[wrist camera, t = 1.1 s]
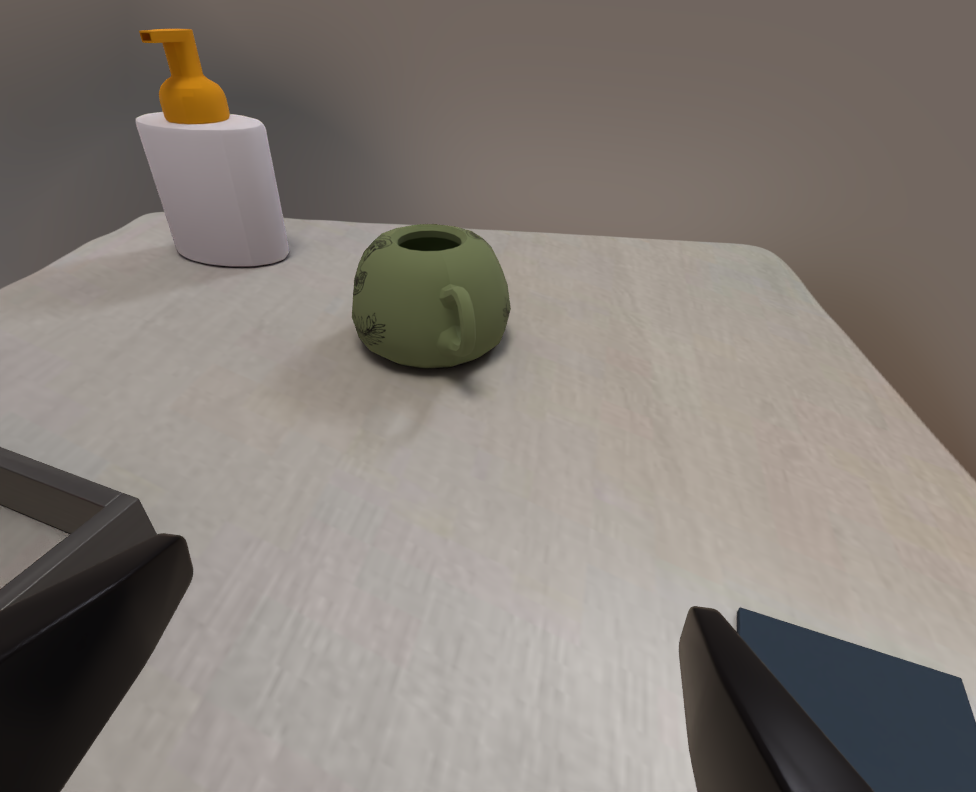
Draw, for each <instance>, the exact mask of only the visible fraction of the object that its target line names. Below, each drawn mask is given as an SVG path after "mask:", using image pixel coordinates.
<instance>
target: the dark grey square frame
mask: <svg viewBox="0 0 976 792" xmlns="http://www.w3.org/2000/svg"><path fill="white" fill-rule="evenodd" d="M0 504H1V505H3V506H6V507H8V508H10V509H13V510H15V511H18V512H20V513H22V514H25V515H27V516H30V517H32V518H34V519H37V520H39V521H42V522H44V523H46V524H49V525H51V526H53V527H56V528H58V529H61V530H63V531H65V532H68V533H70V535H69V536H68V537H66V538H65V539H64V540H63V541H61V542H60V543H59V544H57V545H56V546H55V547H54V548H52V549H51V550H50V551H49V552H47V553H46V554H45V555H43V556H42V557H41V558H40V559H38V560H37V561H36V562H34V563H33V564H32V565H31V566H29V567H28V568H27V569H26V570H24V571H23V572H22V573H20V574H19V575H18V576H17V577H15V578H14V579H13V580H12V581H10V582H9V583H8V584H6V585H5V586H4V587H3V588H1V589H0V610H2V609H4V608H6V607H8V606H10V605H12V604H14V603H16V602H18V601H21V600H23V599H25V598H27V597H29V596H31V595H33V594H35V593H37V592H39V591H41V590H43V589H45V588H47V587H50V586H52V585H54V584H56V583H58V582H60V581H62V580H64V579H66V578H68V577H70V576H72V575H74V574H76V573H79V572H81V571H83V570H85V569H87V568H89V567H91V566H93V565H95V564H97V563H99V562H101V561H103V560H105V559H107V558H110V557H112V556H114V555H116V554H118V553H120V552H122V551H124V550H126V549H128V548H130V547H132V546H134V545H136V544H138V543H141V542H143V541H145V540H147V539H149V538H151V537H153V536H155V535H157V533H156V532H155V530H154V528H153V526H152V524H151V522H150V520H149V518H148V516H147V514H146V512H145V510H144V508H143V506H142V504H141V502H140V500H139V499H138V498H135V497H133V496H130V495H127V494H125V493H121V492H119V491H116V490H113V489H111V488H108V487H105V486H103V485H100V484H97V483H95V482H92V481H89V480H87V479H84V478H81V477H79V476H76V475H73V474H71V473H68V472H65V471H63V470H60V469H57V468H55V467H52V466H49V465H47V464H44V463H41V462H39V461H36V460H33V459H31V458H28V457H25V456H23V455H20V454H17V453H15V452H12V451H9V450H7V449H4V448H1V447H0Z"/></svg>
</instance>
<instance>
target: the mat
mask: <svg viewBox="0 0 976 792" xmlns="http://www.w3.org/2000/svg"><path fill="white" fill-rule="evenodd" d="M737 633H738V634H739V635H740V636H741V638H742V639H743V640H744V641H745V642H746V643H747V645H748V646H749V647H750V648H751V649H752V650H753V652H754V653H755V654H756V655H757V656H758V657H759V658H760V660H761V661H762V662H763V663H764V664H765V665H766V667H767V668H768V669H769V670H770V671H771V672H772V674H773V675H774V676H775V677H776V678H777V679H778V681H779V682H780V683H781V684H782V685H783V686H784V687H785V689H786V690H787V691H788V692H789V693H790V694H791V696H792V697H793V698H794V699H795V700H796V701H797V703H798V704H799V705H800V706H801V707H802V708H803V709H804V711H805V712H806V713H807V714H808V715H809V716H810V718H811V719H812V720H813V721H814V722H815V723H816V725H817V726H818V727H819V728H820V729H821V730H822V732H823V733H824V734H825V735H826V736H827V737H828V738H829V740H830V741H831V742H832V743H833V744H834V745H835V747H836V748H837V749H838V750H839V751H840V752H841V754H842V755H843V756H844V757H845V758H846V759H847V760H848V762H849V763H850V764H851V765H852V766H853V767H854V769H855V770H856V771H857V772H858V773H859V774H860V776H861V777H862V778H863V779H864V780H865V781H866V782H867V784H868V785H869V786H870V787H871V788H872V789H873V791H874V792H976V722H975V719H974V716H973V713H972V710H971V707H970V704H969V701H968V697H967V694H966V691H965V688H964V685H963V682H962V679H961V678H959V677H956V676H953V675H950V674H947V673H943V672H940V671H937V670H934V669H931V668H928V667H925V666H922V665H918V664H915V663H912V662H909V661H906V660H903V659H900V658H897V657H893V656H890V655H887V654H884V653H881V652H878V651H875V650H872V649H868V648H865V647H862V646H859V645H856V644H853V643H850V642H847V641H843V640H840V639H837V638H834V637H831V636H828V635H825V634H822V633H818V632H815V631H812V630H809V629H806V628H803V627H800V626H797V625H793V624H790V623H787V622H784V621H781V620H778V619H775V618H772V617H768V616H765V615H762V614H759V613H756V612H753V611H750V610H747V609H743V608H739V610H738V611H737Z"/></svg>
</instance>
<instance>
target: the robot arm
mask: <svg viewBox="0 0 976 792" xmlns="http://www.w3.org/2000/svg"><path fill="white" fill-rule="evenodd" d="M192 577H193V566H192V562H191V558H190V554H189V550H188V546H187V542H186V540H185V539H184V538H183V537H182V536H180V535H173V534H165V533H162V534H157V535H155V536H153V537H151V538H149V539H147V540H145V541H143V542H141V543H138V544H136V545H134V546H132V547H130V548H128V549H126V550H124V551H122V552H120V553H118V554H116V555H114V556H112V557H110V558H107V559H105V560H103V561H101V562H99V563H97V564H95V565H93V566H91V567H89V568H87V569H85V570H83V571H81V572H79V573H76V574H74V575H72V576H70V577H68V578H66V579H64V580H62V581H60V582H58V583H56V584H54V585H52V586H50V587H47V588H45V589H43V590H41V591H39V592H37V593H35V594H33V595H31V596H29V597H27V598H25V599H23V600H21V601H18V602H16V603H14V604H12V605H10V606H8V607H6V608H4V609H2V610H0V792H60V791H61V790H62V789H63V787H64V786H65V784H66V783H67V781H68V780H69V778H70V777H71V775H72V774H73V772H74V771H75V769H76V768H77V766H78V765H79V763H80V762H81V760H82V759H83V757H84V756H85V754H86V753H87V751H88V750H89V748H90V747H91V745H92V744H93V742H94V741H95V739H96V738H97V736H98V735H99V733H100V732H101V730H102V729H103V727H104V726H105V724H106V723H107V721H108V720H109V718H110V717H111V715H112V714H113V713H114V711H115V710H116V708H117V707H118V705H119V704H120V702H121V701H122V699H123V698H124V696H125V695H126V693H127V692H128V690H129V689H130V687H131V686H132V684H133V683H134V681H135V680H136V678H137V677H138V675H139V674H140V672H141V671H142V669H143V667H144V666H145V664H146V663H147V661H148V659H149V658H150V656H151V654H152V653H153V651H154V649H155V647H156V645H157V644H158V642H159V640H160V638H161V636H162V634H163V633H164V631H165V629H166V627H167V625H168V623H169V622H170V620H171V618H172V616H173V614H174V612H175V611H176V609H177V607H178V605H179V603H180V601H181V600H182V598H183V596H184V594H185V592H186V590H187V589H188V587H189V585H190V583H191V580H192ZM679 659H680V669H681V679H682V688H683V698H684V708H685V718H686V728H687V737H688V745H689V752H690V757H691V763H692V768H693V773H694V778H695V782H696V787H697V792H874V791H873V789H872V788H871V787H870V786H869V785H868V784H867V782H866V781H865V780H864V779H863V778H862V777H861V776H860V774H859V773H858V772H857V771H856V770H855V769H854V767H853V766H852V765H851V764H850V763H849V762H848V760H847V759H846V758H845V757H844V756H843V755H842V754H841V752H840V751H839V750H838V749H837V748H836V747H835V745H834V744H833V743H832V742H831V741H830V740H829V738H828V737H827V736H826V735H825V734H824V733H823V732H822V730H821V729H820V728H819V727H818V726H817V725H816V723H815V722H814V721H813V720H812V719H811V718H810V716H809V715H808V714H807V713H806V712H805V711H804V709H803V708H802V707H801V706H800V705H799V704H798V703H797V701H796V700H795V699H794V698H793V697H792V696H791V694H790V693H789V692H788V691H787V690H786V689H785V687H784V686H783V685H782V684H781V683H780V682H779V681H778V679H777V678H776V677H775V676H774V675H773V674H772V672H771V671H770V670H769V669H768V668H767V667H766V665H765V664H764V663H763V662H762V661H761V660H760V658H759V657H758V656H757V655H756V654H755V653H754V652H753V650H752V649H751V648H750V647H749V646H748V645H747V643H746V642H745V641H744V640H743V639H742V638H741V636H740V635H739V634H738V633H737V632H736V631H735V630H734V628H733V627H732V626H731V625H730V624H729V623H728V621H727V620H726V619H725V618H724V617H723V616H722V614H721V613H720V612H718V611H717V610H715V609H712V608H705V607H698V606H693V607H691V608H690V609H689V611H688V614H687V617H686V621H685V624H684V627H683V631H682V634H681V637H680V642H679Z"/></svg>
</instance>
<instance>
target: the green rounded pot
mask: <svg viewBox="0 0 976 792" xmlns="http://www.w3.org/2000/svg"><path fill="white" fill-rule="evenodd" d="M510 309H511V308H510V301H509V293H508V286H507V282H506V279H505V276H504V274H503V271H502V268H501V266H500V264H499V261H498V259H497V257H496V255H495V253H494V251H493V249H492V247H491V246H490V245H489V244H488V243H487V242H486V241H485V240H484V239H483V238H482V237H480V236H478V235H477V234H475V233H473V232H472V231H469V230H465V229H462V228H458V227H455V226H445V225H437V224H422V225H421V224H420V225H412V226H406V227H400V228H396V229H393V230H390V231H388V232H385V233H382V234H381V235H380V236H379V237H378V238H377V239H375V240H374V241H373V242H372V243H371V245H370V246H369V247H368V248H367V249H366V250H365V251H364V253H363V255H362V257H361V260H360V262H359V265H358V268H357V272H356V275H355V279H354V291H353V307H352V319H353V321H354V324H355V327H356V330H357V333H358V336H359V338H360V339H361V340H362V341H363V343H364V344H365V345H366V346H367V347H368V349H369V350H370V351H372V352H374V353H376V354H378V355H380V356H382V357H385V358H387V359H389V360H391V361H393V362H396V363H398V364H400V365H406V366H412V367H419V368H440V367H452V366H455V365H459V364H462V363H465V362H468V361H472V360H474V359H476V358H478V357H480V356H482V355H483V354H485V353H486V352H488V351H489V350H491V349H492V348H493V347H495V346H496V345H498V344H499V343H500V341H501V338H502V336H503V333H504V331H505V328H506V324H507V320H508V317H509V313H510Z"/></svg>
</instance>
